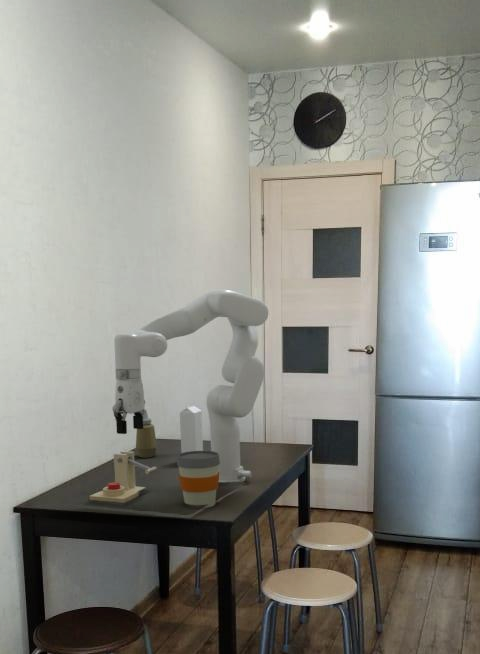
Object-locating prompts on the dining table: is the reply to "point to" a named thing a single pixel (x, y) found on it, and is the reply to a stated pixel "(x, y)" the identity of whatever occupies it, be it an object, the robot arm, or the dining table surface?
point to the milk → (191, 429)
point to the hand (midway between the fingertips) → (130, 431)
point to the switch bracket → (125, 471)
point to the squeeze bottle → (146, 438)
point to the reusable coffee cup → (199, 477)
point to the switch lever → (141, 466)
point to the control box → (114, 495)
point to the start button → (113, 486)
